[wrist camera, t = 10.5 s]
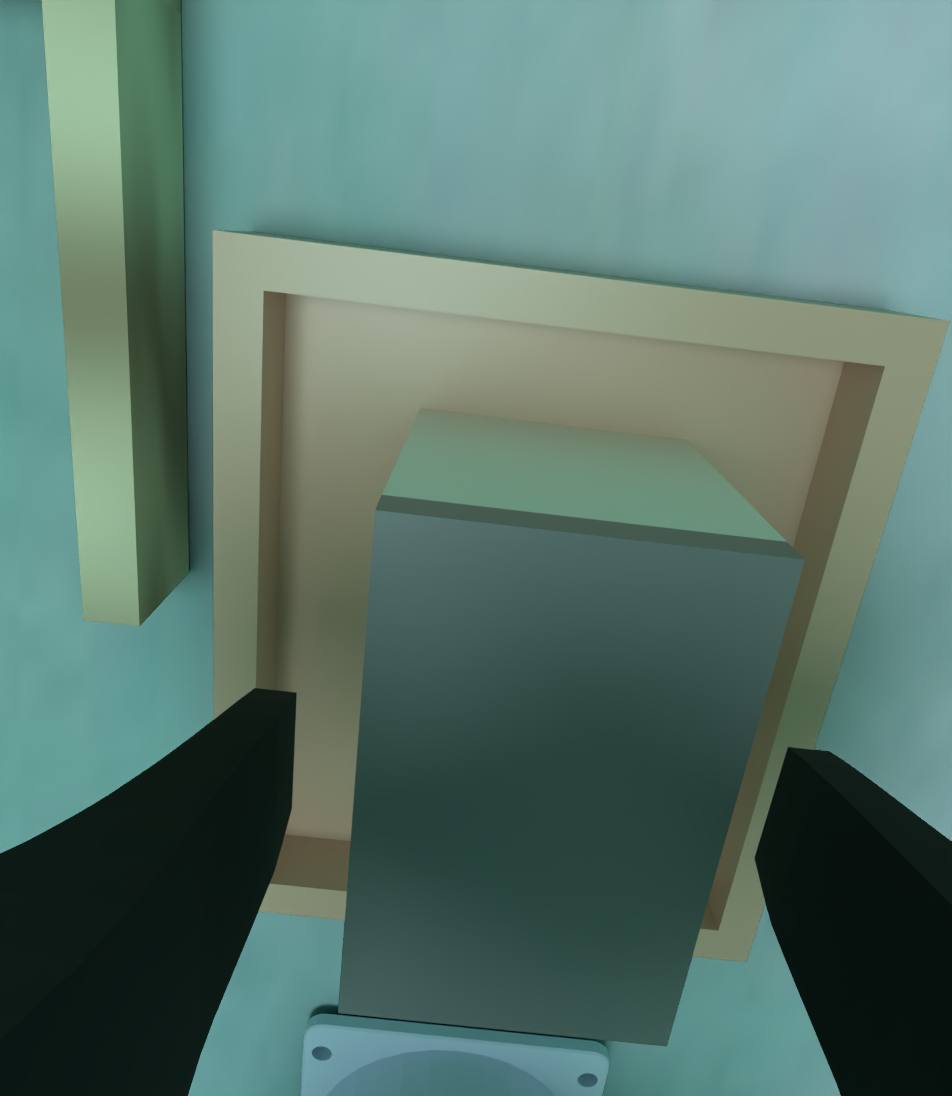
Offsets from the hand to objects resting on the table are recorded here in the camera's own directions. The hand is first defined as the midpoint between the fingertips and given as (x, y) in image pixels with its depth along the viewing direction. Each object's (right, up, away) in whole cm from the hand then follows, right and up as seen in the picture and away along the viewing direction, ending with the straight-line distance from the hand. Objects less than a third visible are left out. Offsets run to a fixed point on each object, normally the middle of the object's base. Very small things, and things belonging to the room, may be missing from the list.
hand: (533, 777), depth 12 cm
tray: (0, +2, +5) cm, 6 cm away
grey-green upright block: (0, +2, +5) cm, 5 cm away
